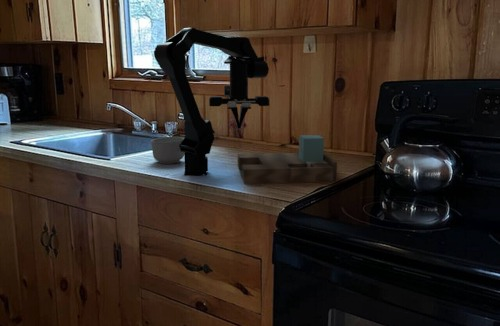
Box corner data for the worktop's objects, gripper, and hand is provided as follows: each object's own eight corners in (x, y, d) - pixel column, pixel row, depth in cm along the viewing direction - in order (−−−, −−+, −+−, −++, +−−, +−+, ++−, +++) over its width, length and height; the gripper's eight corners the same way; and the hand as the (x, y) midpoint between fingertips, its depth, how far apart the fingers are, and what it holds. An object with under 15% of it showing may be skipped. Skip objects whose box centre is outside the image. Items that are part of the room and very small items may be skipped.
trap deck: (244, 183, 128) (244, 164, 127) (237, 166, 150) (237, 149, 148) (336, 181, 131) (337, 162, 130) (316, 164, 152) (317, 148, 151)
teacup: (183, 165, 150) (182, 141, 149) (149, 165, 150) (148, 141, 148) (186, 157, 164) (186, 134, 162) (155, 157, 163) (154, 134, 162)
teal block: (303, 162, 137) (303, 138, 136) (298, 157, 143) (299, 135, 141) (323, 161, 138) (324, 138, 136) (318, 157, 144) (318, 135, 142)
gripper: (264, 77, 154) (264, 124, 158) (208, 77, 153) (209, 125, 156) (269, 79, 144) (269, 129, 147) (209, 79, 142) (209, 130, 145)
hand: (239, 128), depth 149 cm, fingers closed
